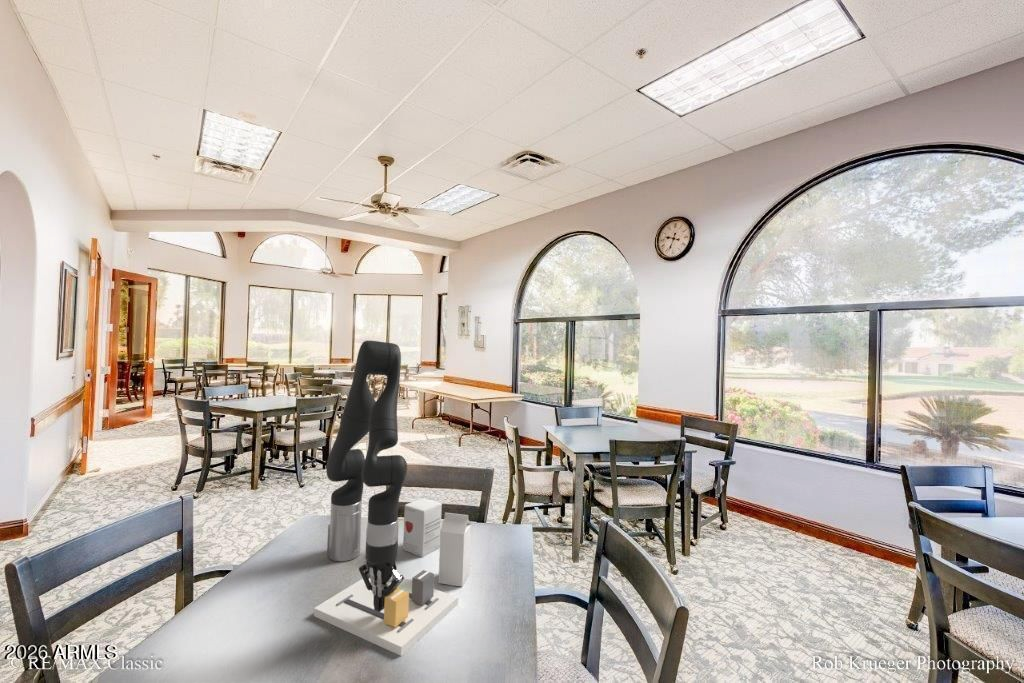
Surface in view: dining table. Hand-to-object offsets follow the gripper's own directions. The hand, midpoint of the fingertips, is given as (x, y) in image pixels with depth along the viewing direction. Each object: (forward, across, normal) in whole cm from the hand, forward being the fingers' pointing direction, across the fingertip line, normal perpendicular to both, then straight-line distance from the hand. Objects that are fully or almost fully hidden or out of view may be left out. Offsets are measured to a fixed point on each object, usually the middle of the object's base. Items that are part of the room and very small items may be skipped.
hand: (379, 609), depth 108 cm
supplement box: (+4, -16, +36) cm, 40 cm away
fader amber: (+1, +5, 0) cm, 5 cm away
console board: (+4, -2, +5) cm, 7 cm away
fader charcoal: (+1, +5, +10) cm, 11 cm away
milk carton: (+4, +4, +26) cm, 27 cm away
